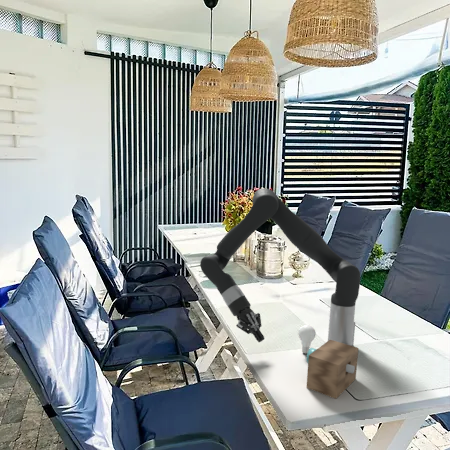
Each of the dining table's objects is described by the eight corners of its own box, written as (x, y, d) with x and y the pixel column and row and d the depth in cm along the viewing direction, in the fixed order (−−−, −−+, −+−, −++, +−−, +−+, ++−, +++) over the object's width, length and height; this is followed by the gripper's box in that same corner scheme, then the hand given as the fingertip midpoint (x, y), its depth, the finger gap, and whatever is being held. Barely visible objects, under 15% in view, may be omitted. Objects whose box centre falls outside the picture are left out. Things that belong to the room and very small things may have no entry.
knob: (305, 365, 147) (307, 350, 146) (313, 360, 151) (314, 345, 150) (349, 380, 138) (350, 365, 137) (355, 374, 142) (357, 359, 141)
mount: (301, 385, 143) (303, 353, 141) (322, 367, 155) (325, 338, 153) (336, 398, 136) (338, 365, 134) (355, 379, 148) (358, 347, 146)
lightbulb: (312, 349, 169) (313, 322, 167) (315, 357, 163) (318, 328, 161) (295, 349, 169) (297, 321, 167) (298, 357, 163) (300, 328, 161)
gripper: (231, 299, 158) (258, 341, 153) (252, 291, 168) (278, 330, 163) (219, 310, 162) (245, 351, 157) (240, 301, 172) (265, 339, 167)
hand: (261, 340), depth 160 cm, fingers closed
